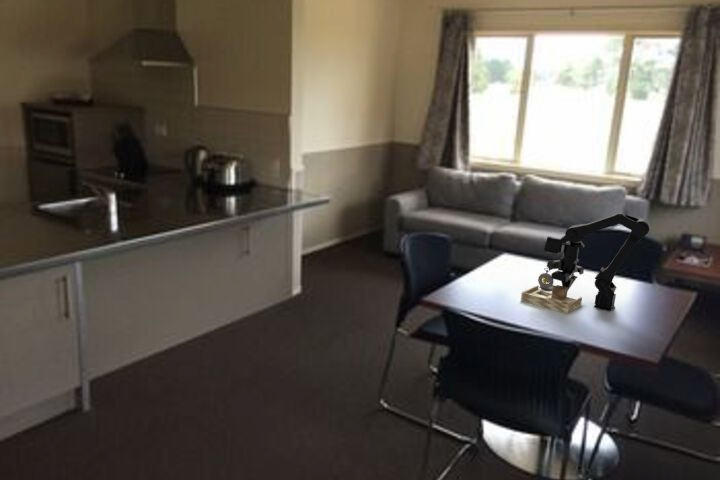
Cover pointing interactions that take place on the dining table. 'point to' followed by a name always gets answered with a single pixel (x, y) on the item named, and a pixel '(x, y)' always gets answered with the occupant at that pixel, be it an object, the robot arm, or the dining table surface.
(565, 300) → the trap box
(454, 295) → the dining table surface
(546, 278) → the pocket watch
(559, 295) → the block
